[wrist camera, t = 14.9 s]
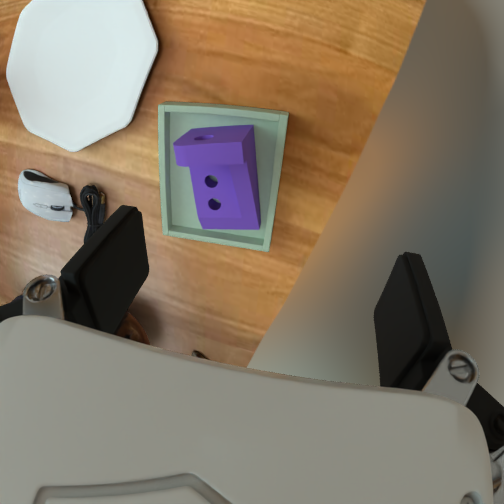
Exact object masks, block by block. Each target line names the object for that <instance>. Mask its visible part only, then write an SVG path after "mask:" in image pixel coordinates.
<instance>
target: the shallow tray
mask: <svg viewBox="0 0 504 504" xmlns="http://www.w3.org/2000/svg"><path fill="white" fill-rule="evenodd" d="M288 116H289V112H285V111H278V110H270V109H262V108H254V107H244V106H234V105H223V104H209V103H192V102H164V103H161V104H159V105H158V146H159V177H160V198H161V214H162V228H163V235H167V236H168V235H169V236H173V237H179V238H185V239H192V240H198V241H204V242H210V243H216V244H222V245H229V246H235V247H241V248H247V249H253V250H259V251H265V252H269V249H270V243H271V237H272V230H273V223H274V216H275V209H276V203H277V196H278V189H279V182H280V174H281V167H282V160H283V153H284V145H285V138H286V131H287V123H288ZM234 125H254V136H255V149H256V162H257V175H258V188H259V202H260V215H261V225H260V229H259V230H231V229H202V226H201V224H200V222H199V219H198V215H197V210H196V204H195V199H194V193H193V187H192V181H191V175H190V169H189V167H181V166H178V165H177V164H176V158H175V152H174V147H173V143H174V142H175V141H176V140H177V139H179V138H180V137H181V136H182V135H184V134H185V133H186V132H188V131H189V130H190V129H194V128H205V127H218V126H234ZM209 177H210V179H212V180H213V181H216V182H218V180H217V178H216V177H215V176H213V175H209ZM213 200H214V201H216V202H218V203H220V201H219V200H218V199H215V198H213Z"/></svg>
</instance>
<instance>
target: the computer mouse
mask: <svg viewBox="0 0 504 504" xmlns="http://www.w3.org/2000/svg"><path fill="white" fill-rule="evenodd" d="M18 192H19V197H20V200H21V202H22V204H23V206H24V207H25V208H26V209H27V210H29V211H30V212H32V213H34V214H36V215H38V216H40V217H42V218H45V219H47V220H52V221H61V222H69V220H70V219H71V216H72V213H73V212H72V208H71V206H72V207H73V208H77V209H79V210H82V211H84V212H85V214H86V217H87V221H88V223H87V224H88V226H87V230H86V233H85V236H84V244H85V243H86V242H87V240H88V239H89V238H90V237H91V236H92V235H93V234H94V233H95V232H96V231H97V230H98V229H99V228H100V227H101V226H102V224H103V222H104V217H105V203H104V199H105V195H104V194H103V193H102V192H100V193H98V189H97V188H96V186H95V185H92V186H89V185H87V186H85V187H83V189H82V190H81V193H80V199H81V204H82V206H83V209H82V208H79V207H77V205H76V204H75V203H73V202H72V198H71V195H70V194H69V188H68V185H66V184H63V183H60V182H57V181H54V180H52V179H50V178H49V177H47V176H45V175H44V174H42V173H41V172H38V171H36V170H29V169H27V170H23V171H22V172H21V174H20V176H19V181H18ZM88 195H89V198H90V200H89V201H88V198H87V196H88ZM92 195H93V207H92Z"/></svg>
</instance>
